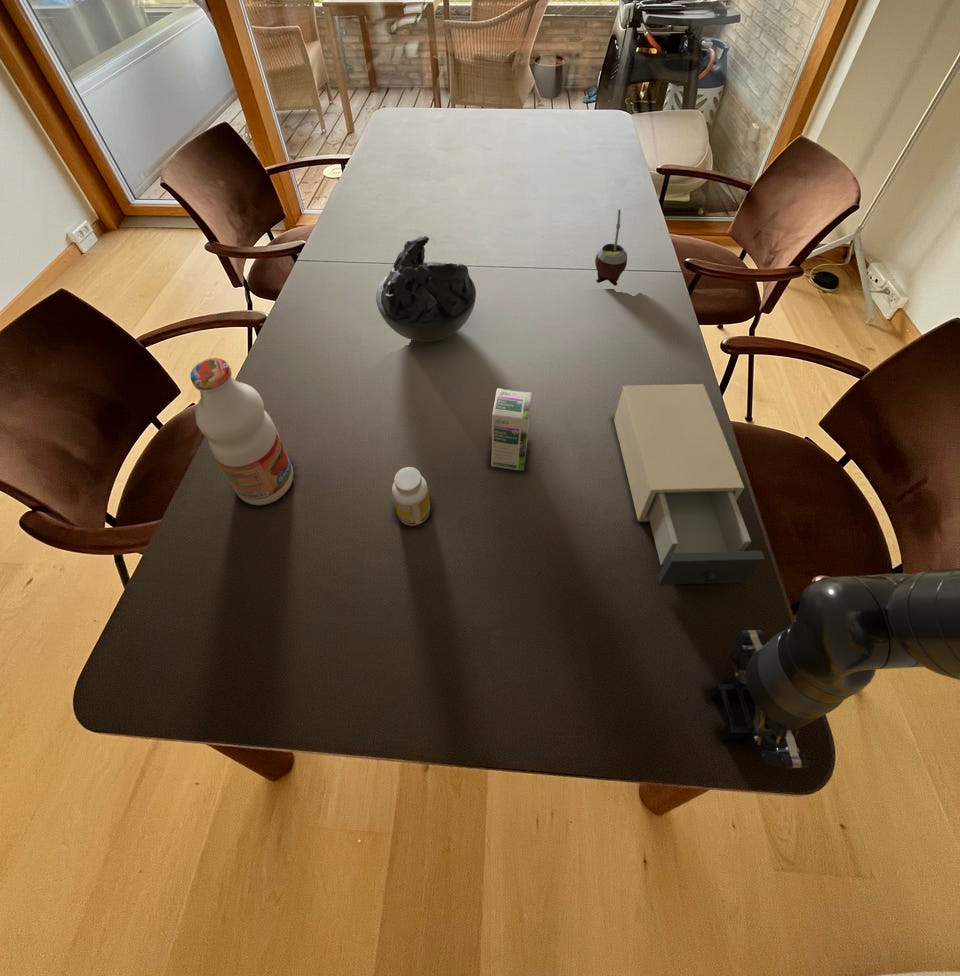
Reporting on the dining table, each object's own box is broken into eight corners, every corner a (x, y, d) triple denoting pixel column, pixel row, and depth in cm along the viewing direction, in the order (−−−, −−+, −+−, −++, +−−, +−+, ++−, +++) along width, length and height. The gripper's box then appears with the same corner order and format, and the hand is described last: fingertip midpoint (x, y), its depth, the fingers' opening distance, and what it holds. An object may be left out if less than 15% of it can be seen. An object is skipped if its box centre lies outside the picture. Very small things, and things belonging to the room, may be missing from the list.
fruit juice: (231, 471, 97) (166, 359, 77) (286, 449, 100) (238, 336, 80) (243, 516, 91) (176, 408, 71) (301, 491, 94) (252, 381, 74)
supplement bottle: (425, 491, 94) (421, 458, 87) (434, 520, 90) (430, 488, 83) (393, 500, 93) (386, 468, 86) (401, 530, 89) (394, 499, 82)
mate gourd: (605, 291, 129) (616, 236, 119) (584, 272, 134) (592, 218, 124) (630, 280, 132) (643, 226, 121) (608, 262, 137) (619, 208, 126)
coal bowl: (453, 374, 112) (449, 302, 99) (364, 346, 117) (349, 275, 104) (490, 310, 125) (491, 239, 112) (408, 288, 130) (400, 218, 117)
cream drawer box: (724, 519, 90) (744, 487, 83) (638, 521, 90) (651, 490, 83) (688, 418, 104) (703, 383, 97) (613, 420, 104) (623, 385, 97)
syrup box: (490, 467, 97) (491, 415, 87) (495, 438, 101) (496, 386, 91) (523, 472, 96) (528, 420, 86) (527, 443, 100) (532, 390, 90)
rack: (778, 737, 70) (790, 730, 67) (721, 739, 70) (731, 732, 67) (762, 691, 74) (774, 682, 71) (709, 692, 73) (718, 684, 71)
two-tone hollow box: (748, 590, 82) (768, 567, 76) (661, 593, 81) (674, 570, 76) (706, 470, 96) (720, 443, 90) (631, 471, 95) (640, 445, 90)
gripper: (867, 759, 54) (797, 785, 66) (802, 603, 65) (752, 650, 77) (789, 761, 54) (733, 787, 66) (737, 605, 64) (697, 652, 76)
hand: (743, 713), depth 71 cm, fingers closed on rack, 5 cm apart
